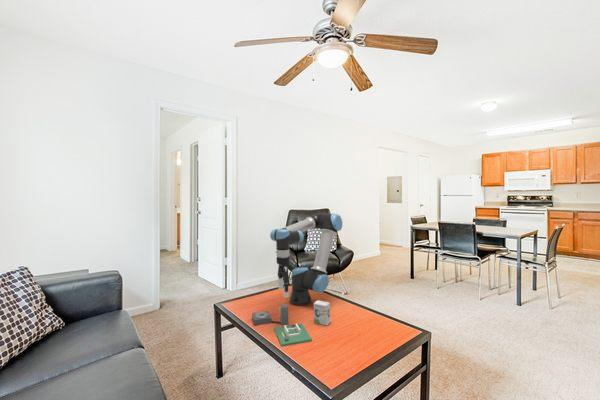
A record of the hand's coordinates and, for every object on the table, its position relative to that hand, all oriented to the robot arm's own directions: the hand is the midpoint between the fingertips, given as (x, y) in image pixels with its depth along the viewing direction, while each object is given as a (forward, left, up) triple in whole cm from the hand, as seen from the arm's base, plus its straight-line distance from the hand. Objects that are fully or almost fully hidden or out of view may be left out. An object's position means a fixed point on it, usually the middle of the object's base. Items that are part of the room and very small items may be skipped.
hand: (283, 293), depth 161 cm
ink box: (-21, +6, -18) cm, 28 cm away
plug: (0, 0, -18) cm, 18 cm away
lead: (+5, -2, -18) cm, 18 cm away
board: (-1, +14, -18) cm, 23 cm away
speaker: (+12, -8, -18) cm, 23 cm away
